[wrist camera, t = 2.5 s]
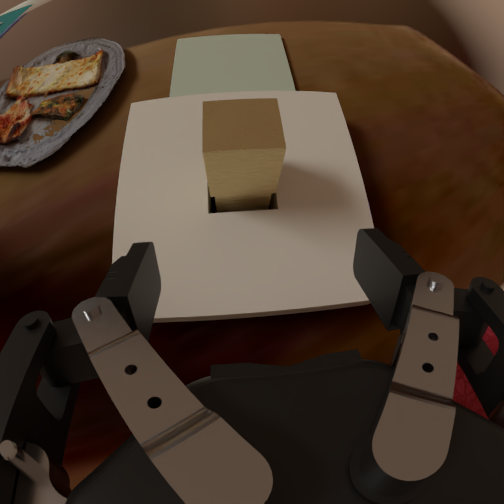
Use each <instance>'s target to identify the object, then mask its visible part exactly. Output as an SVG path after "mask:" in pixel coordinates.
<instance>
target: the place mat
mask: <svg viewBox="0 0 504 504" xmlns="http://www.w3.org/2000/svg"><path fill="white" fill-rule="evenodd" d="M32 5H33V4H32ZM30 6H31V5H29V6H26V7H23V8H20V9H17V10H15V11H12V12H9V13H7V14H4V15H2V16H0V39H1V38H2V37H3V36H4V35H5V34H6V33H7V32H8V31H9V30H10V29H11V28H12V27H13V26H14V25H15V24H16V23H17V22H18V21H19V20H20V19H21V18H23V17H24V16H25V15H26V14H27V13H28V12H27V13H26V14H24V15H22V16H20V15H21V14H22V13H23V12H25V11H26V10H27V9H28V8H29V7H30ZM19 16H20V17H19ZM18 17H19V18H18Z"/></svg>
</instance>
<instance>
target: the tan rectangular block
mask: <svg viewBox="0 0 504 504" xmlns="http://www.w3.org/2000/svg"><path fill="white" fill-rule="evenodd" d="M285 152H286V143H285V138H284V132H283V127H282V121H281V116H280V111H279V105H278V100H277V98H257V99H231V100H215V101H203V117H202V153H203V159H204V164H205V170H206V176H207V181H208V187H209V192H210V197H215V202H216V208H217V213H224V212H239V211H255V210H268V208H269V203H270V199H271V194H272V193H276V190H277V186H278V182H279V177H280V173H281V169H282V165H283V160H284V156H285Z"/></svg>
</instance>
